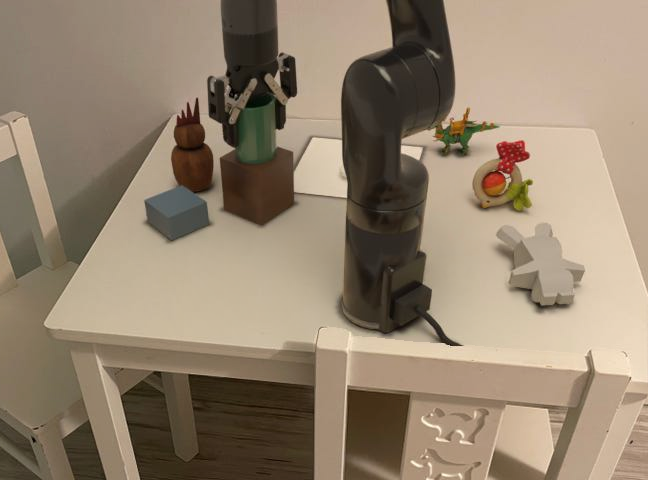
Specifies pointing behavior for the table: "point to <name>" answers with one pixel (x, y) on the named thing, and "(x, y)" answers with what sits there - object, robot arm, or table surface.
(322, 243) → the table surface
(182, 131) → the wooden figurine
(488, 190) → the bird rattle
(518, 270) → the bunny figurine
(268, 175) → the walnut block
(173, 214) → the slate block
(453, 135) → the figurine
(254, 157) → the cup
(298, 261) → the table surface
